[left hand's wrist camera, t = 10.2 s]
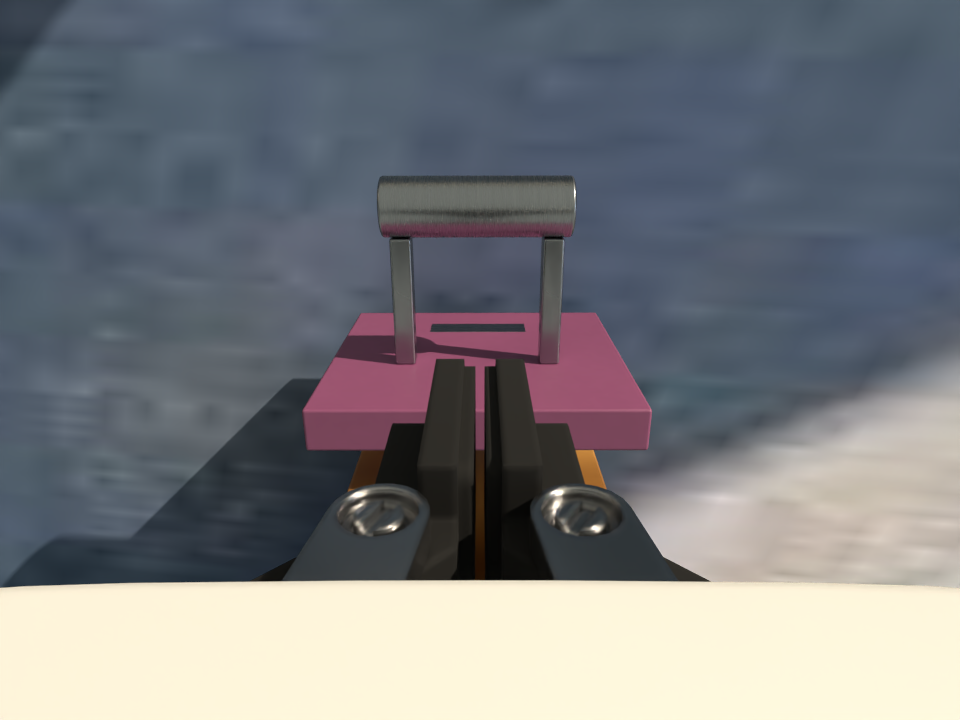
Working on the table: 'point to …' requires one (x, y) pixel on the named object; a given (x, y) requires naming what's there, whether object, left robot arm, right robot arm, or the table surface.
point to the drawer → (476, 335)
